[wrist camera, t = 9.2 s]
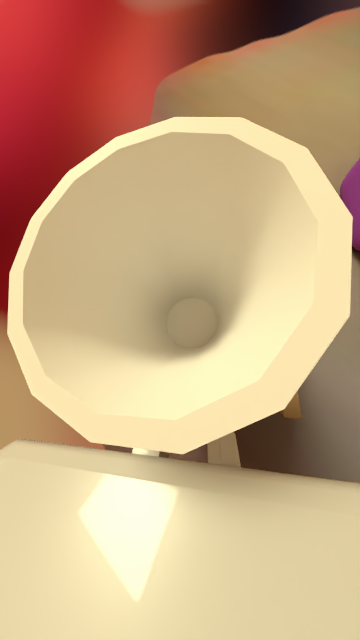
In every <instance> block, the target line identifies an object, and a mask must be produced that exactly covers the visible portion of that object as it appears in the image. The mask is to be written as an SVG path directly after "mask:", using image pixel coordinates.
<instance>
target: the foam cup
mask: <svg viewBox="0 0 360 640" xmlns="http://www.w3.org/2000/svg"><path fill="white" fill-rule="evenodd" d="M352 222H353V216H352V215H351V213H350V212H349V210H348V209H347V207H346V206H345V204H344V203H343V201H342V200H341V198H340V197H339V195H338V194H337V192H336V191H335V189H334V188H333V186H332V185H331V183H330V182H329V180H328V179H327V177H326V176H325V174H324V173H323V171H322V170H321V168H320V167H319V165H318V164H317V162H316V161H315V159H314V158H313V156H312V155H311V153H310V152H309V150H308V149H307V148H306V147H304V146H302V145H299V144H297V143H295V142H293V141H291V140H289V139H287V138H284V137H282V136H280V135H278V134H276V133H274V132H272V131H269V130H267V129H265V128H263V127H261V126H259V125H257V124H254V123H252V122H250V121H248V120H246V119H244V118H242V117H174V118H171V119H168V120H165V121H162V122H159V123H156V124H153V125H150V126H147V127H145V128H142V129H139V130H136V131H133V132H130V133H128V134H124V135H121V136H119V137H116V138H114V139H113V140H112V141H110V142H109V143H107V144H106V145H105V146H103V147H102V148H100V149H99V150H98V151H96V152H95V153H94V154H92V155H91V156H90V157H88V158H87V159H85V160H84V161H82V162H81V163H80V164H78V165H77V166H76V167H74V168H73V169H71V170H70V171H69V172H67V173H66V175H65V176H64V177H63V179H62V180H61V181H60V182H59V184H58V185H57V186H56V188H55V189H54V190H53V191H52V192H51V194H50V195H49V196H48V198H47V199H46V200H45V201H44V203H43V204H42V205H41V206H40V208H39V209H38V210H37V211H36V213H35V214H34V215H33V217H32V218H31V220H30V222H29V225H28V227H27V230H26V233H25V235H24V238H23V240H22V243H21V245H20V248H19V250H18V253H17V255H16V258H15V260H14V263H13V266H12V268H11V271H10V277H9V278H10V279H9V304H8V332H7V333H8V336H9V339H10V341H11V344H12V346H13V349H14V351H15V354H16V356H17V359H18V361H19V364H20V366H21V369H22V371H23V374H24V376H25V379H26V381H27V384H28V386H29V389H30V391H31V394H32V395H33V396H34V397H36V398H37V399H38V400H39V401H41V402H42V403H43V404H44V405H45V406H47V407H48V408H49V409H50V410H52V411H53V412H54V413H55V414H56V415H58V416H59V417H60V418H61V419H63V420H64V421H65V422H66V423H68V424H69V425H70V426H71V427H72V428H74V429H75V430H76V431H77V432H78V433H80V434H81V435H82V436H83V437H85V438H86V439H87V440H89V442H93V443H100V444H108V445H116V446H123V447H131V448H139V449H147V450H154V451H162V452H170V453H177V454H184V453H187V452H189V451H191V450H193V449H196V448H198V447H200V446H202V445H205V444H207V443H209V442H211V441H214V440H216V439H218V438H220V437H223V436H225V435H227V434H229V433H232V432H234V431H236V430H238V429H241V428H243V427H245V426H247V425H250V424H252V423H254V422H256V421H259V420H261V419H263V418H265V417H268V416H270V415H272V414H274V413H277V412H279V411H281V410H283V409H285V408H286V406H287V405H288V403H289V402H290V400H291V399H292V398H293V396H294V395H295V393H296V392H297V390H298V389H299V388H300V386H301V385H302V383H303V382H304V380H305V379H306V378H307V376H308V375H309V373H310V372H311V370H312V369H313V368H314V366H315V365H316V363H317V362H318V360H319V359H320V358H321V356H322V355H323V353H324V352H325V350H326V349H327V348H328V346H329V345H330V343H331V342H332V340H333V339H334V338H335V336H336V335H337V333H338V332H339V330H340V329H341V328H342V326H343V325H344V323H345V322H346V320H347V319H348V318H349V316H350V293H351V257H352Z"/></svg>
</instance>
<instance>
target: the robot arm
mask: <svg viewBox="0 0 360 640" xmlns="http://www.w3.org/2000/svg"><path fill="white" fill-rule="evenodd" d="M207 445H208V463H203V462H195V461H188V460H180V459H172V458H169V452H162V451H154V450H147V449H139V448H133V451H132V453H126V452H119V451H111V450H104V449H96V448H88V447H81V446H73V445H65V444H57V443H50V442H42V441H35V440H27V439H18V440H16V441H14V442H12V443H10V444H9V445H7V446H6V447H4V448H3V449H1V450H0V640H360V483H355V482H348V481H340V480H333V479H325V478H317V477H310V476H302V475H294V474H287V473H279V472H271V471H264V470H256V469H249V468H241V464H240V459H239V453H238V447H237V441H236V436H235V433H234V432H232V433H229V434H227V435H225V436H223V437H220V438H218V439H216V440H214V441H211V442H209V443H207Z"/></svg>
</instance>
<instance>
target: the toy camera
mask: <svg viewBox="0 0 360 640" xmlns="http://www.w3.org/2000/svg"><path fill="white" fill-rule="evenodd" d="M340 196H341V200H342V201H343V203H344V204H345V206H346V207H347V209H348V210H349V212H350V213H351V215H352V216H353V222H352V246H353V247H354V248H355V249H356V250H358V251H360V159H359V160H358V161H357V163H356V164H355V165H354V166H353V168H352V169H351V170H350V172H349V173H348V174H347V176H346V177H345V179H344V180H343V182H342V184H341V188H340Z"/></svg>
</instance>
